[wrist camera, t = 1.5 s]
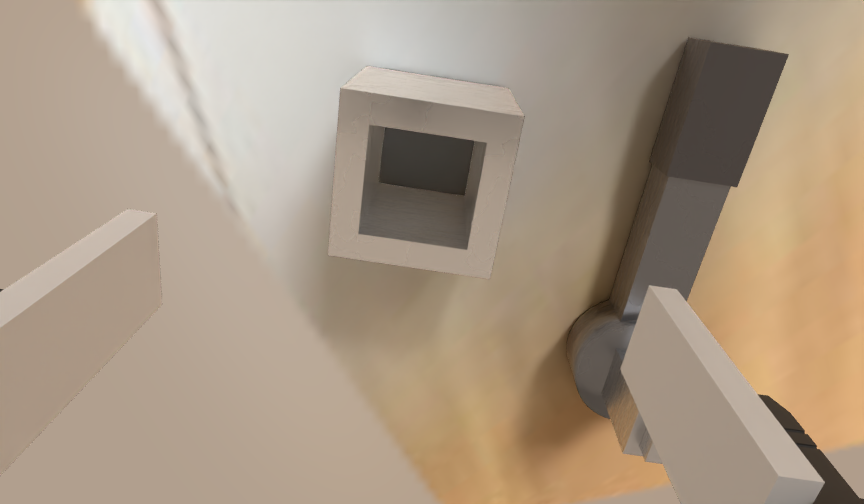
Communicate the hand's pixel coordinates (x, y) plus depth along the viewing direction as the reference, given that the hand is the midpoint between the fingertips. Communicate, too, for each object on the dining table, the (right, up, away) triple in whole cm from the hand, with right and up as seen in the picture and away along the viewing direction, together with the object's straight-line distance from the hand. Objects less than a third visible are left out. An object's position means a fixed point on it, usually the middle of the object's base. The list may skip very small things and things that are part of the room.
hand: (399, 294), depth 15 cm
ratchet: (+13, +2, +16) cm, 20 cm away
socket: (+1, +7, +14) cm, 15 cm away
